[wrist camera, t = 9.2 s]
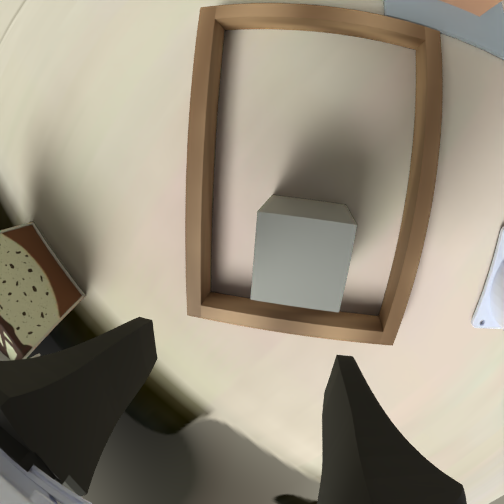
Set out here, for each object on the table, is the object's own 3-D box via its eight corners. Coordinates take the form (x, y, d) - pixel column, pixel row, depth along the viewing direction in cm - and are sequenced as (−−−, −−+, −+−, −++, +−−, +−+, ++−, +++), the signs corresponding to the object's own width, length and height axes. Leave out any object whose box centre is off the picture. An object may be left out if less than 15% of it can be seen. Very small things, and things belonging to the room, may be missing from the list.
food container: (12, 246, 25) (-53, 280, 16) (26, 210, 23) (-52, 242, 14) (74, 333, 27) (15, 387, 17) (96, 307, 24) (24, 369, 15)
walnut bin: (428, 41, 12) (439, 31, 10) (387, 329, 19) (392, 345, 17) (211, 18, 14) (200, 7, 13) (197, 301, 22) (187, 315, 20)
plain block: (345, 204, 17) (356, 225, 13) (334, 272, 19) (338, 312, 14) (272, 194, 18) (257, 211, 13) (266, 263, 20) (250, 299, 15)
